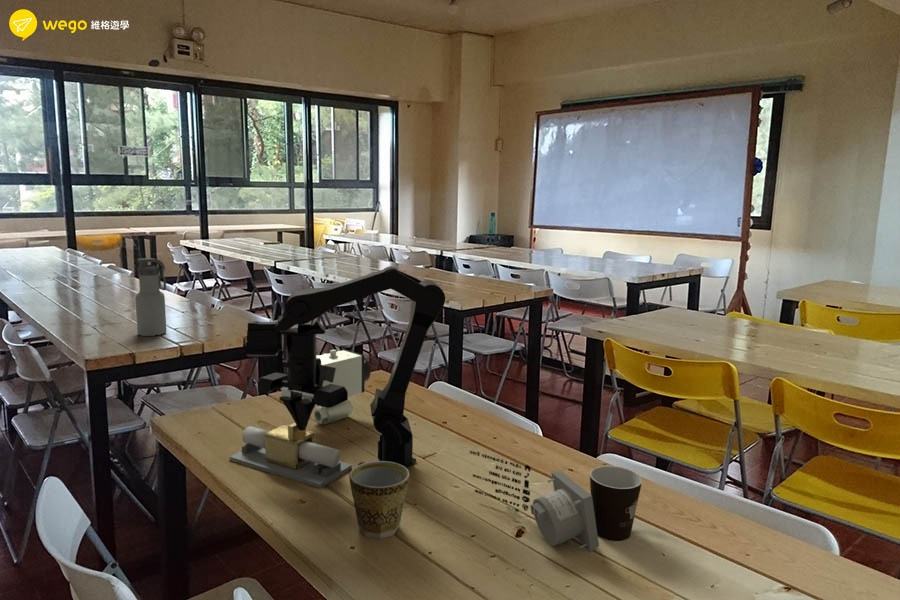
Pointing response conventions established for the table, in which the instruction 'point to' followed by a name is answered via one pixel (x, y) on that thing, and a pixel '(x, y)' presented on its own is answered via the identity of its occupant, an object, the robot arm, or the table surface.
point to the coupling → (286, 445)
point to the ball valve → (343, 382)
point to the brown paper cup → (614, 500)
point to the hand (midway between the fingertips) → (302, 429)
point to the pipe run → (314, 472)
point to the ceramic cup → (379, 496)
